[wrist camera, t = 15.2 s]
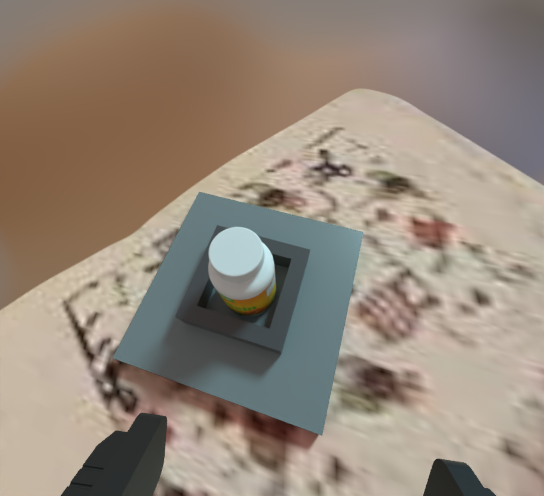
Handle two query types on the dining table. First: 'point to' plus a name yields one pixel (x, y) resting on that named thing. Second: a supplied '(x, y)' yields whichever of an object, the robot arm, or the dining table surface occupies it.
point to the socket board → (257, 329)
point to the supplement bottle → (242, 271)
